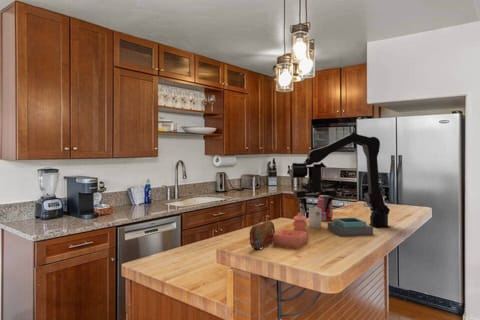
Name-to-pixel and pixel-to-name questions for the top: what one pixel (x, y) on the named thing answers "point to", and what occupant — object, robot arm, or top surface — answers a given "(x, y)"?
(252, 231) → the brown rounded slab
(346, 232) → the teal-collared square flange
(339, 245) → the top surface
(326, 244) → the top surface
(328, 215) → the soda can
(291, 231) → the pottery
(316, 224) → the grey rounded block
